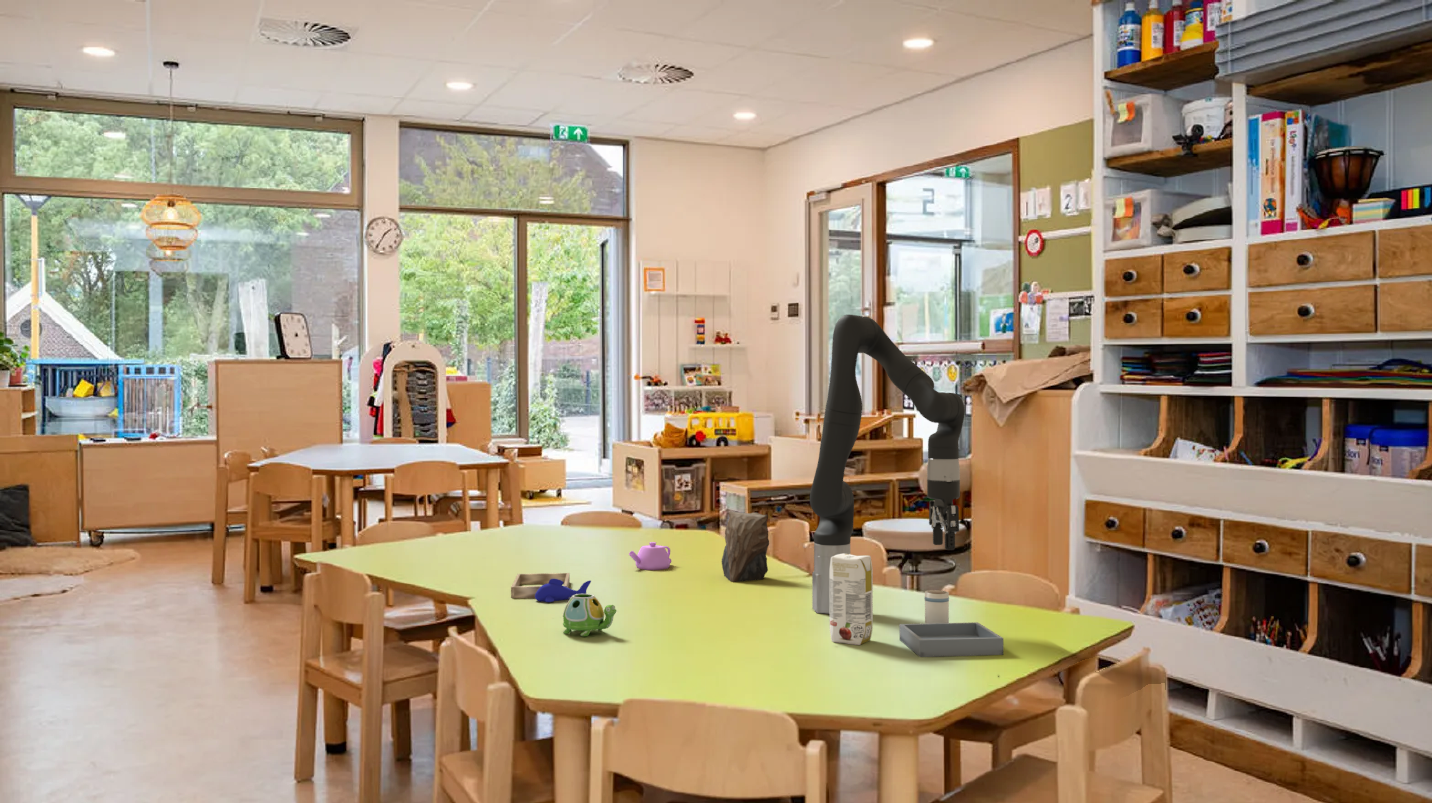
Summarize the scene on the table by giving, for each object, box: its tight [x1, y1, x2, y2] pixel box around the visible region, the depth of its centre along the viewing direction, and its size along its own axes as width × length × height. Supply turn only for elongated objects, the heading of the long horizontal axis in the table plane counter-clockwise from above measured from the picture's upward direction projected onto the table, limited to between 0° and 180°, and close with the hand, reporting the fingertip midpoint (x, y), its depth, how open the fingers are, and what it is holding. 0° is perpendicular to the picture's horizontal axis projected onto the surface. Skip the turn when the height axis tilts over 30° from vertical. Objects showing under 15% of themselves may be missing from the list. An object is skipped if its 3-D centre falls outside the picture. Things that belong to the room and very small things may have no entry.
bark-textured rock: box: [721, 511, 770, 583], centre depth 323 cm, size 13×13×20 cm
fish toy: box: [535, 579, 592, 603], centre depth 289 cm, size 15×8×7 cm, turn 110°
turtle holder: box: [562, 593, 617, 637], centre depth 253 cm, size 9×13×9 cm
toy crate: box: [510, 572, 571, 599], centre depth 302 cm, size 15×22×4 cm
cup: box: [924, 589, 950, 624], centre depth 254 cm, size 6×6×9 cm
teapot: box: [628, 541, 672, 571], centre depth 338 cm, size 10×15×9 cm
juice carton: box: [829, 553, 874, 646], centre depth 244 cm, size 8×9×19 cm
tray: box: [899, 621, 1004, 658], centre depth 238 cm, size 18×16×4 cm
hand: (943, 547), depth 257 cm, fingers open, 8 cm apart
